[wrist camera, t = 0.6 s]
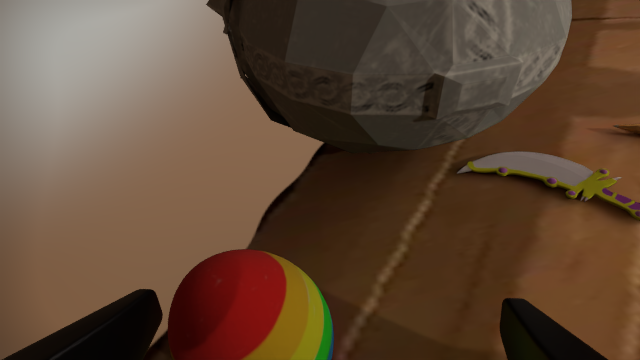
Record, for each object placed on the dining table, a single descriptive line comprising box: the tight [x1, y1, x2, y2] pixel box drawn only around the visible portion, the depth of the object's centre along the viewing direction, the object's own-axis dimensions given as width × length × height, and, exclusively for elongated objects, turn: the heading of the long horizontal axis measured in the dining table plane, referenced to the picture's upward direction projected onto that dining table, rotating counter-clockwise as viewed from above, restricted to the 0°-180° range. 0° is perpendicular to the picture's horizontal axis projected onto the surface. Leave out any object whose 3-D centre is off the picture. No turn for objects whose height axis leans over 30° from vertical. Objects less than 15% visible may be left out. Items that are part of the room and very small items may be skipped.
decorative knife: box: [457, 152, 640, 221], centre depth 24 cm, size 12×1×5 cm
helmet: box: [206, 0, 572, 154], centre depth 27 cm, size 21×27×30 cm
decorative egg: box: [168, 249, 334, 360], centre depth 18 cm, size 8×8×10 cm
